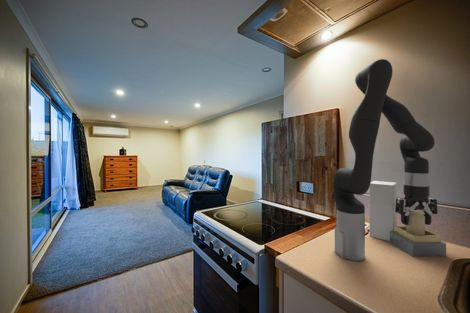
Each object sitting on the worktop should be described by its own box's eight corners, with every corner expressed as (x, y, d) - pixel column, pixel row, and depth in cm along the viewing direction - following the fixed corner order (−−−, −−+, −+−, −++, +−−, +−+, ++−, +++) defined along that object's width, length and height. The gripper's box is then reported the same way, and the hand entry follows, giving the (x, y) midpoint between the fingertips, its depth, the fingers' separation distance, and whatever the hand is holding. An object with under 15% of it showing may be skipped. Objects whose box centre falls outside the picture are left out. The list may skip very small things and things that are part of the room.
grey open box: (412, 256, 71) (412, 236, 71) (389, 242, 82) (389, 225, 82) (446, 256, 71) (446, 236, 71) (418, 242, 82) (418, 225, 82)
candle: (428, 239, 73) (428, 214, 73) (412, 238, 74) (412, 213, 74) (418, 233, 79) (418, 209, 78) (402, 233, 80) (402, 209, 79)
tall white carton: (393, 242, 82) (393, 185, 82) (369, 236, 89) (369, 182, 88) (397, 236, 88) (397, 182, 88) (373, 230, 95) (373, 180, 94)
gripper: (405, 185, 72) (405, 228, 73) (444, 185, 72) (444, 228, 72) (390, 182, 80) (390, 221, 80) (425, 182, 79) (425, 220, 80)
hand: (415, 224), depth 76 cm, fingers open, 8 cm apart
